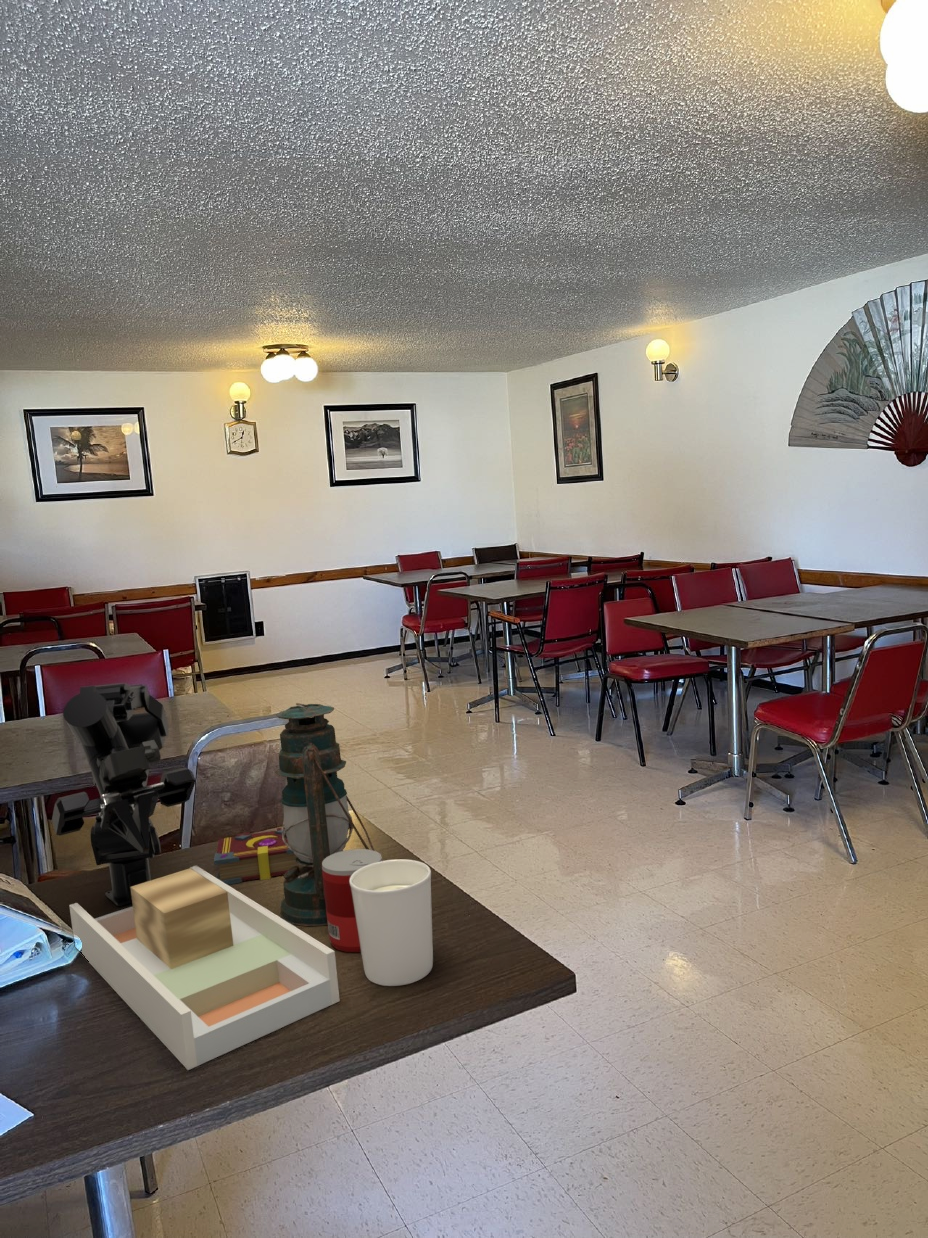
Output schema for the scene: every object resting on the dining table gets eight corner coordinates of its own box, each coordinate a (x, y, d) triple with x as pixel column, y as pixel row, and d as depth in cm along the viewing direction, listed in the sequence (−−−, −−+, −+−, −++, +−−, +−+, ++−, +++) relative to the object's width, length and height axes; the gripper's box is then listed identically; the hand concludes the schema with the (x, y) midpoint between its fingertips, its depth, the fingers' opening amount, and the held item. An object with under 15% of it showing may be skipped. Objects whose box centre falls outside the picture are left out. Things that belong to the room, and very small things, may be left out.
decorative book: (220, 863, 151) (217, 834, 151) (317, 848, 155) (314, 820, 154) (216, 888, 140) (213, 858, 140) (320, 872, 143) (317, 842, 143)
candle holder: (450, 953, 112) (442, 861, 111) (421, 994, 103) (412, 893, 102) (379, 947, 115) (370, 857, 114) (344, 986, 106) (334, 888, 105)
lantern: (279, 888, 138) (259, 696, 134) (372, 873, 140) (354, 685, 137) (281, 944, 119) (257, 721, 115) (388, 925, 121) (368, 708, 118)
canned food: (380, 954, 113) (372, 870, 112) (320, 953, 115) (312, 870, 114) (396, 927, 121) (389, 848, 120) (340, 926, 122) (332, 848, 121)
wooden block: (136, 938, 117) (130, 887, 116) (195, 918, 122) (189, 868, 121) (171, 969, 108) (164, 913, 107) (233, 945, 112) (227, 892, 112)
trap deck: (74, 947, 123) (69, 905, 122) (200, 904, 134) (196, 865, 133) (187, 1070, 92) (181, 1014, 91) (339, 1001, 103) (334, 951, 102)
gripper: (46, 740, 119) (81, 839, 111) (183, 712, 130) (223, 800, 123) (39, 787, 126) (71, 883, 118) (169, 757, 137) (206, 843, 130)
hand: (145, 851), depth 122 cm, fingers closed
